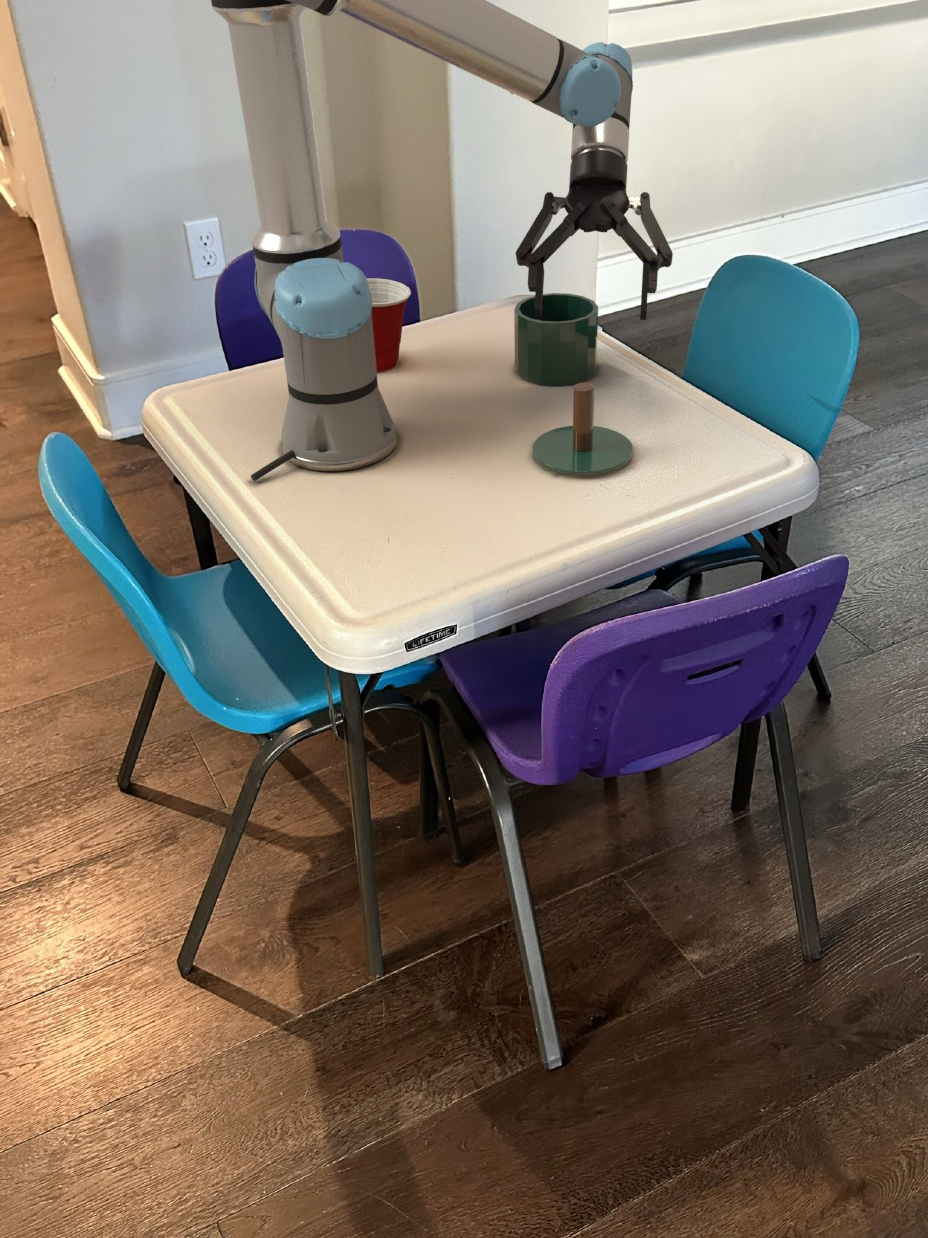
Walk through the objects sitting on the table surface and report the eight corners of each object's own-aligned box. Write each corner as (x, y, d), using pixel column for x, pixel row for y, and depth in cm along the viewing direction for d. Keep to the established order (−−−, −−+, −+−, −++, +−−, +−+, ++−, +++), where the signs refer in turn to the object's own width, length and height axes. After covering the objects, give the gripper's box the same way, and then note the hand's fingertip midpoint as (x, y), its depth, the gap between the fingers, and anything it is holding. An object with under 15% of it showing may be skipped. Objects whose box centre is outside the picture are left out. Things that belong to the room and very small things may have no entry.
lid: (573, 489, 140) (575, 418, 134) (512, 450, 148) (511, 382, 143) (653, 459, 145) (658, 390, 140) (589, 423, 154) (591, 357, 148)
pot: (547, 392, 163) (548, 329, 157) (499, 366, 171) (498, 305, 165) (612, 371, 168) (614, 309, 162) (562, 346, 176) (563, 287, 170)
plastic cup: (413, 378, 168) (408, 300, 161) (341, 380, 169) (333, 302, 162) (417, 349, 177) (412, 274, 170) (349, 351, 178) (341, 276, 171)
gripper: (693, 177, 151) (686, 328, 148) (507, 178, 154) (497, 325, 151) (697, 145, 143) (690, 303, 140) (502, 147, 147) (491, 300, 144)
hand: (590, 314), depth 146 cm, fingers open, 13 cm apart
